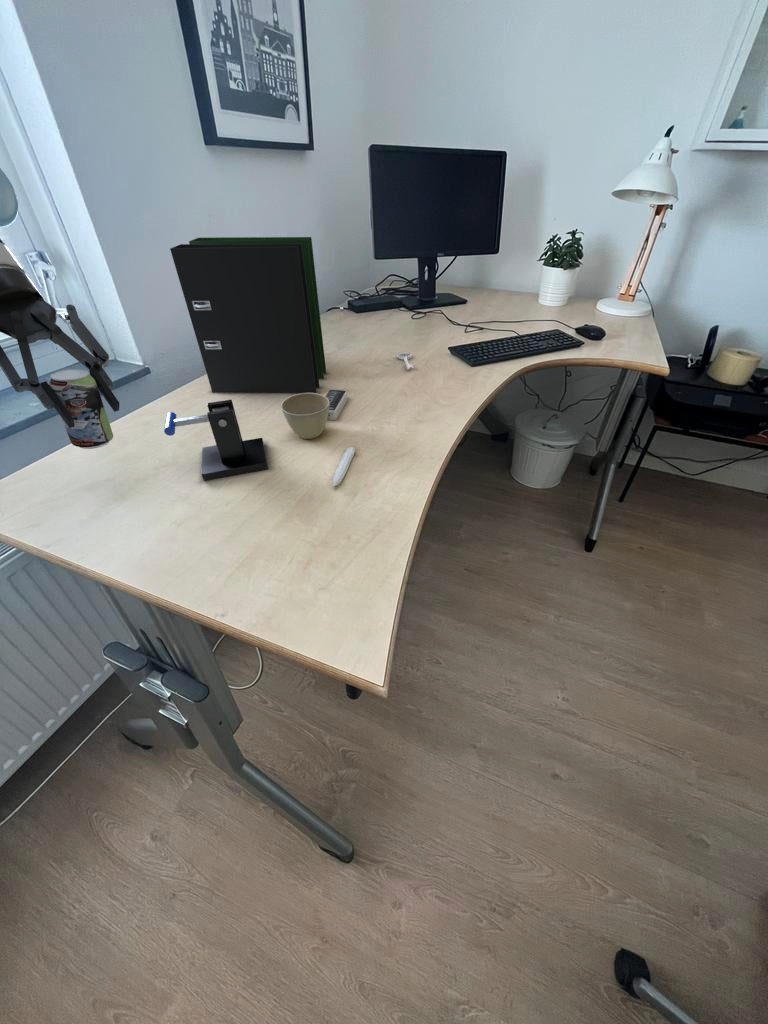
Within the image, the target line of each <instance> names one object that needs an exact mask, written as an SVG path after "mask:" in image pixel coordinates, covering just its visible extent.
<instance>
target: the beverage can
mask: <svg viewBox="0 0 768 1024" xmlns="http://www.w3.org/2000/svg"><path fill="white" fill-rule="evenodd" d="M49 378H50V380H49V382H48V384H49V386H50V387H51V388H52V390H53V391H54V393H55V394H56V395H57V397H58V398H59V400H60V401H61V402H62V404H63V405H64V407H65V408H66V409H67V411H68V412H69V413H70V415H71V416H72V418H73V419H74V425H75V426H74V427H72V428H69V427H68V426H67V424H66V423H65V421H64V420H63V419H62V417H61V416H60V418H61V421H62V423H63V426H64V428H65V432H66V434H67V436H68V439H69V441H70V444H71V445H73V446H75V447H78V448H80V449H83V450H84V449H85V450H93V449H98V448H102V447H104V446H107V445H108V444H109V443H110V442H111V441H112V440H113V438H114V434H113V430H112V427H111V424H110V421H109V418H108V414H107V411H106V409H105V406H104V402H103V399H102V396H101V392H100V391H99V389H98V387H97V384H96V381H95V379H94V378H93V377H92V376H90V373H89V371H88V370H86V369H82V368H81V369H80V368H68V369H61V370H57V371H54V372H52V373H51V374H50V375H49Z"/></svg>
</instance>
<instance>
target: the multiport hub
mask: <svg viewBox="0 0 768 1024" xmlns="http://www.w3.org/2000/svg"><path fill="white" fill-rule="evenodd" d="M324 396H325V397H327V398H328V399H329V403H330V404H329V414H328V418H327V421H336V420H337V419H338V418H339V416H340V414H341V412H342V410H343V409H344V407H345V405H346V404H347V401H348V400H349V399H348V391H347V390H344V389H342V390H341V389H329V390H328V391H327V393H326V394H325V395H324Z"/></svg>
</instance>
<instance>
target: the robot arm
mask: <svg viewBox="0 0 768 1024" xmlns="http://www.w3.org/2000/svg"><path fill="white" fill-rule="evenodd" d="M18 214H19V202H18V199H17V194H16V193H15V188H14V185H13V184H12V182H11V180H10V179H9V177H8V176H7V175H6V173H5V172H4V171H3V169H2V168H1V167H0V228H5V227H9V226H10V225H12V224H13V223H15V221H16V220H17V217H18ZM58 318H59V319H61V320H62V321H63V322H64V323H65V324H66V325H69V326H70V328H71V330H72V332H74V334H75V335H76V336H77V338H78V339H79V340H80V341H81V342H82V344H83V345H84V347H86V348H87V350H88V351H89V352H88V351H87V350H86V349H85V348H84V347H82V346H81V344H79V343H77V341H75V340H74V339H73V338H72V337H70V336H69V335H68V334H67V333H65V332H64V331H63V329H61V327H60V326H59V325H58V324H56V323H57V319H58ZM0 333H2V334H4V335H6V336H8V337H10V338H13V339H14V340H16V341H17V345H18V348H19V349H18V350H19V351H20V356H21V359H22V363H23V366H24V370H25V373H26V378H24V377H23V378H22V377H21V376H20V375H19V373H18V371H17V370H16V368H15V367H14V365H13V363H12V361H11V360H10V358H9V357H8V355H7V354H6V352H5V351H4V349H3V346H1V345H0V369H1V370H2V372H3V373H4V375H5V377H6V379H7V380H8V382H9V383H10V385H11V386H12V388H13V390H14V391H15V392H17V393H23V392H25V391H26V392H31V393H32V394H34V395H35V397H37V399H38V400H39V402H40V403H41V404H42V406H43V407H44V409H47V410H52V409H55V410H56V412H57V413H58V415H59V416H60V418H61V417H62V418H61V420H62V419H63V420H64V421H65V423H66V424H67V426H68V427H69V428H72V427H74V426H75V425H74V419H73V418H72V416H71V415H70V413H69V412H68V411H67V409H66V408H65V407H64V405H63V404H62V402H61V401H60V400H59V398H58V397H57V395H56V394H55V393H54V391H53V390H52V388H51V387H50V386H49V382H48V381H47V380H46V381H42V382H40V380H39V376H38V373H37V370H36V365H35V361H34V358H33V355H32V350H31V347H30V344H34V343H36V342H38V341H46V340H50V341H51V342H52V343H54V344H55V345H58V347H60V348H61V349H62V350H64V351H65V352H67V353H68V354H69V355H70V356H71V357H72V358H73V359H75V360H76V361H78V362H79V363H80V364H81V365H83V366H84V367H85V368H86V369H88V370H89V371H88V373H89V375H90V376H92V377H93V378H94V379H95V381H96V384H97V387H98V390H99V393H100V395H102V396H103V398H104V400H105V401H106V402H107V404H108V405H109V406H110V408H111V409H112V411H113V412H114V413H115V412H118V411H120V401H119V400H118V399H117V397H116V396H115V393H114V392H113V391H112V389H113V386H114V385H113V380H112V378H110V376H109V374H108V373H107V372H106V370H105V369H104V368H107V367H109V366H110V355H109V353H108V352H107V351H106V349H104V348H103V347H104V346H102V345H101V344H100V342H99V341H98V339H96V337H95V336H94V335H93V333H92V332H91V331H90V329H89V328H88V327H87V326H86V325H85V324H84V322H83V321H82V320H81V319H80V317H79V315H78V312H77V308H76V306H75V305H73V304H67V305H66V306H65V307H55V306H53V305H52V304H50V303H49V302H47V300H46V299H45V298H44V297H43V296H42V294H41V292H40V291H39V290H38V288H37V287H36V286H35V284H34V282H33V281H32V280H31V279H30V277H29V276H28V275H27V273H26V271H25V270H24V268H23V267H22V265H21V264H20V263H19V261H18V260H17V258H16V257H15V256H14V254H13V253H12V252H11V250H10V248H8V246H7V245H6V244H5V242H4V241H3V240H2V238H0Z"/></svg>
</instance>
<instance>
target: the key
mask: <svg viewBox="0 0 768 1024" xmlns="http://www.w3.org/2000/svg"><path fill="white" fill-rule="evenodd" d="M396 358H397V359H399V360H404V364H405V368H406V370H407V371H410V369H414V366H413V364H412V363H411V364H409V361H408V360H410V359H411V358H412V353H410V352H405V351H402V352H398V353H397V355H396Z"/></svg>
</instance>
